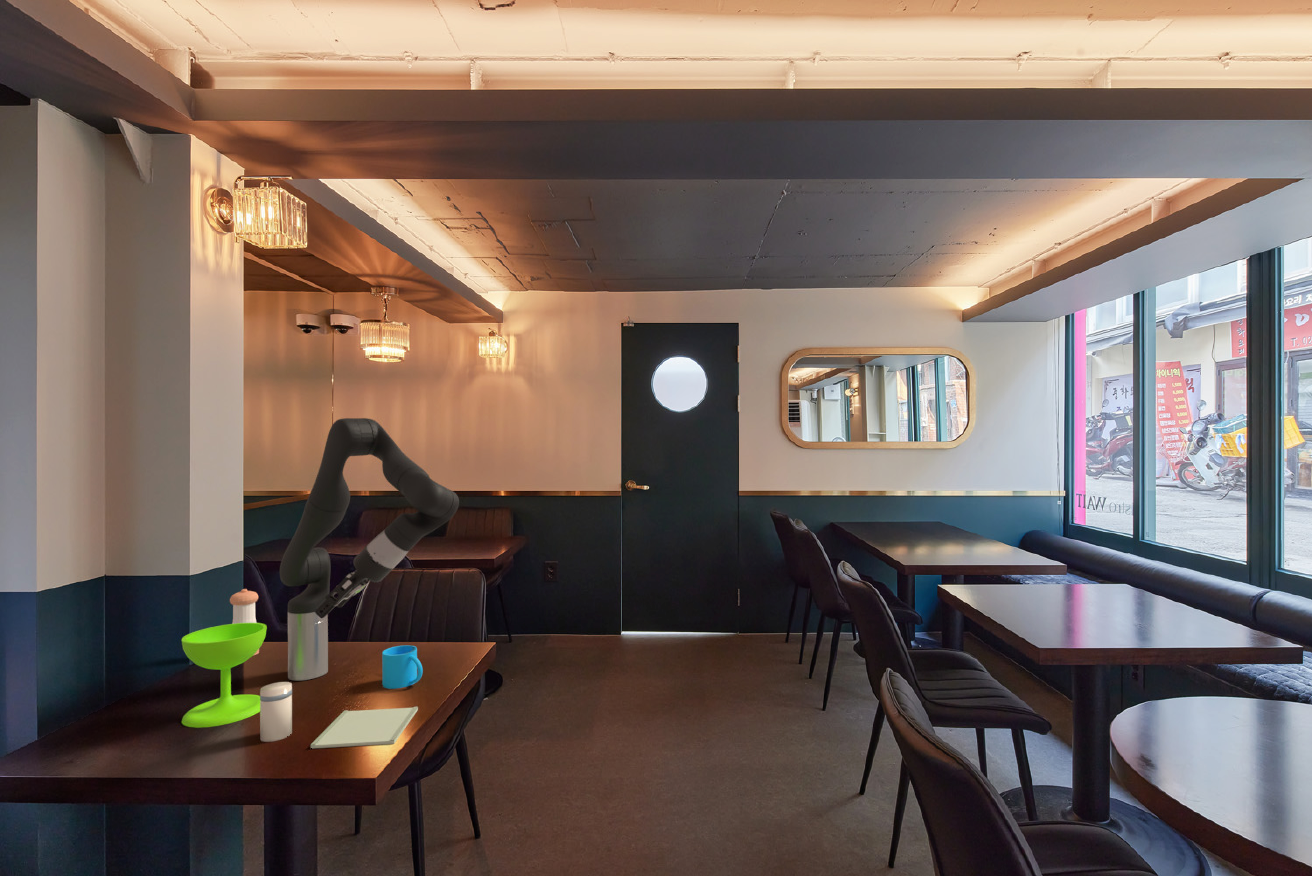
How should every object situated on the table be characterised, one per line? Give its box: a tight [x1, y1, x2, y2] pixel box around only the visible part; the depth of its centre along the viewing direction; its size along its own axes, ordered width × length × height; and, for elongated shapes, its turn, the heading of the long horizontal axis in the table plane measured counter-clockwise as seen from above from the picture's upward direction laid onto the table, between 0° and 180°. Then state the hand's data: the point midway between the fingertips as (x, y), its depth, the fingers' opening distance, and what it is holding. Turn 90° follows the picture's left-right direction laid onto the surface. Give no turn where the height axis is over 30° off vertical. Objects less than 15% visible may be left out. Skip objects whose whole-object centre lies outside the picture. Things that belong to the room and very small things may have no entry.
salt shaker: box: [229, 588, 260, 657], centre depth 180 cm, size 7×7×19 cm
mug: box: [381, 644, 424, 690], centre depth 155 cm, size 12×8×8 cm
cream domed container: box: [259, 681, 293, 743], centre depth 127 cm, size 6×6×10 cm
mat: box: [310, 706, 419, 749], centre depth 130 cm, size 16×16×1 cm
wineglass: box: [181, 622, 268, 729], centre depth 139 cm, size 16×16×18 cm
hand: (327, 610), depth 132 cm, fingers open, 8 cm apart
